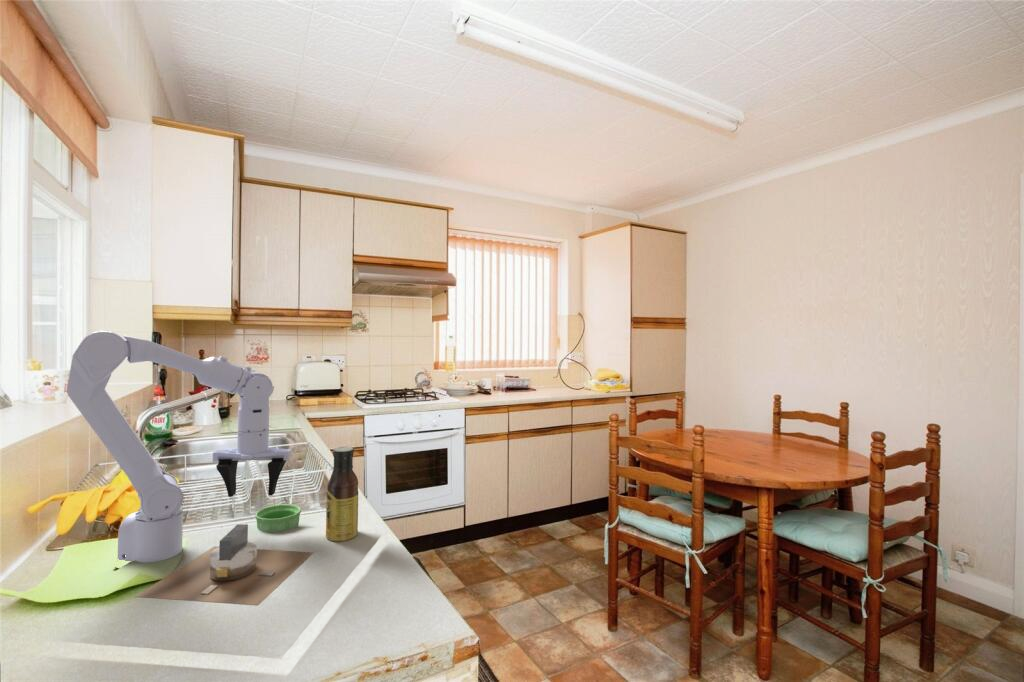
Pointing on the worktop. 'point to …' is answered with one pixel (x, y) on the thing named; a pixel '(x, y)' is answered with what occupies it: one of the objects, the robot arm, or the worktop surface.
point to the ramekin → (278, 517)
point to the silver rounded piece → (233, 555)
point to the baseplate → (247, 590)
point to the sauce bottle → (342, 497)
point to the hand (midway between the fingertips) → (252, 494)
